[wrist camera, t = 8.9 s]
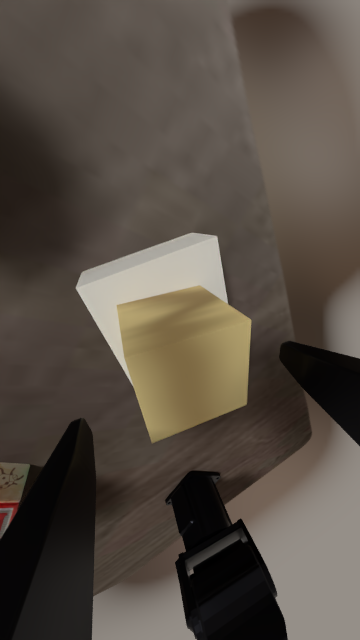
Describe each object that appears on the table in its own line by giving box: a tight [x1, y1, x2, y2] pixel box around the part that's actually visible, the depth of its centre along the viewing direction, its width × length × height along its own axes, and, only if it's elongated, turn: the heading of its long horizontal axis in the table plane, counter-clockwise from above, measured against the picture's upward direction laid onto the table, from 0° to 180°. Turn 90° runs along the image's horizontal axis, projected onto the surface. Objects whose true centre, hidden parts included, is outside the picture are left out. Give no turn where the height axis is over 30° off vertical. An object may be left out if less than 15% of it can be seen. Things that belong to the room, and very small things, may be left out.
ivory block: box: [76, 233, 228, 387], centre depth 14 cm, size 8×8×4 cm
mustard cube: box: [116, 285, 251, 443], centre depth 11 cm, size 5×5×5 cm
